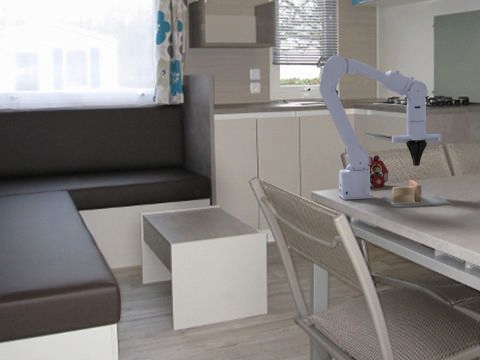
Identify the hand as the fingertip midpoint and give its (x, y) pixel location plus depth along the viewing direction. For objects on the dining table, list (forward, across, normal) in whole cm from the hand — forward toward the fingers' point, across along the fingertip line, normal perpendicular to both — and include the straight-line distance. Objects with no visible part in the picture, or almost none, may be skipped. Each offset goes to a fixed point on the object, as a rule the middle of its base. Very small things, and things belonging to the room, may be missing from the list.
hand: (416, 165), depth 216 cm
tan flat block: (+8, +3, +7) cm, 11 cm away
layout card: (+9, +3, +9) cm, 14 cm away
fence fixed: (+9, +6, +12) cm, 16 cm away
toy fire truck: (+10, +10, -21) cm, 25 cm away
